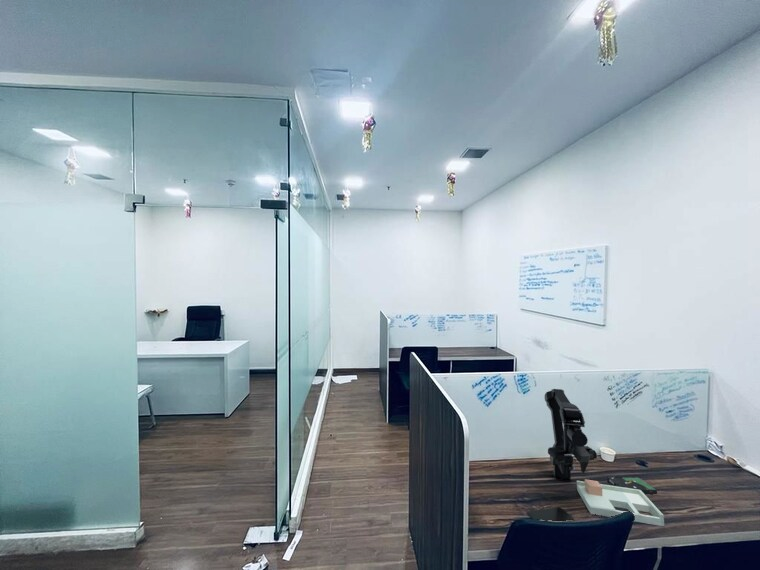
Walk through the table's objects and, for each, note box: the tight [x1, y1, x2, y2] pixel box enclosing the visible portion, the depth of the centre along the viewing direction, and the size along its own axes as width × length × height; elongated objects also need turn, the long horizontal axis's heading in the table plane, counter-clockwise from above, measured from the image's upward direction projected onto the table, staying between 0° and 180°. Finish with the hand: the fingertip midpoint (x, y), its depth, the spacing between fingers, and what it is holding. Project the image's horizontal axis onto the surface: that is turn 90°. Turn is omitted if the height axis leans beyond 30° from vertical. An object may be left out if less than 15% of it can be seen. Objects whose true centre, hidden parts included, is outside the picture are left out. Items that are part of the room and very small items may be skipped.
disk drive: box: [607, 476, 658, 496], centre depth 140 cm, size 10×3×15 cm
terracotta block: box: [584, 479, 603, 496], centre depth 133 cm, size 5×5×4 cm
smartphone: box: [526, 506, 575, 522], centre depth 121 cm, size 8×1×16 cm
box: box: [576, 480, 665, 527], centre depth 127 cm, size 24×17×4 cm
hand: (572, 472), depth 133 cm, fingers open, 9 cm apart
